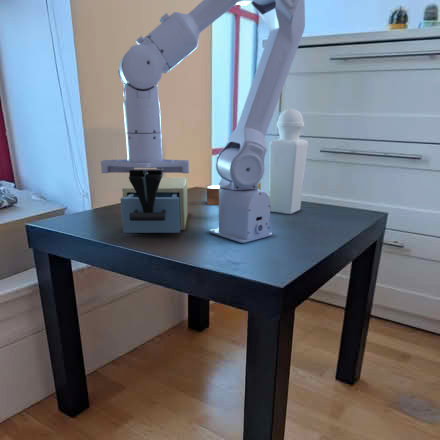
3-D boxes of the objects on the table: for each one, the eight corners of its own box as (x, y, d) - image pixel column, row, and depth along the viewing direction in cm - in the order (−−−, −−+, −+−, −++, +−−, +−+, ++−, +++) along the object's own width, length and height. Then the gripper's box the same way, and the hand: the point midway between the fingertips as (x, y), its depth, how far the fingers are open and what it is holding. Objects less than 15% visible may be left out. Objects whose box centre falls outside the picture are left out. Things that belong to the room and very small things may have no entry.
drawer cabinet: (184, 230, 82) (183, 188, 79) (125, 230, 82) (121, 188, 79) (187, 213, 95) (186, 177, 91) (136, 214, 94) (133, 177, 91)
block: (222, 201, 107) (222, 185, 106) (222, 204, 104) (223, 188, 102) (206, 201, 107) (206, 185, 106) (206, 204, 104) (206, 188, 102)
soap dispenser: (265, 211, 97) (270, 108, 88) (278, 206, 102) (284, 108, 93) (291, 215, 94) (299, 108, 85) (303, 209, 99) (311, 108, 90)
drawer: (178, 239, 73) (176, 203, 70) (118, 240, 73) (115, 203, 70) (183, 216, 89) (182, 186, 86) (134, 216, 88) (131, 186, 86)
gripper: (92, 133, 64) (102, 220, 70) (186, 134, 65) (188, 220, 70) (103, 131, 71) (111, 211, 76) (188, 131, 71) (190, 211, 77)
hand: (148, 215), depth 74 cm, fingers closed, pressing on drawer
